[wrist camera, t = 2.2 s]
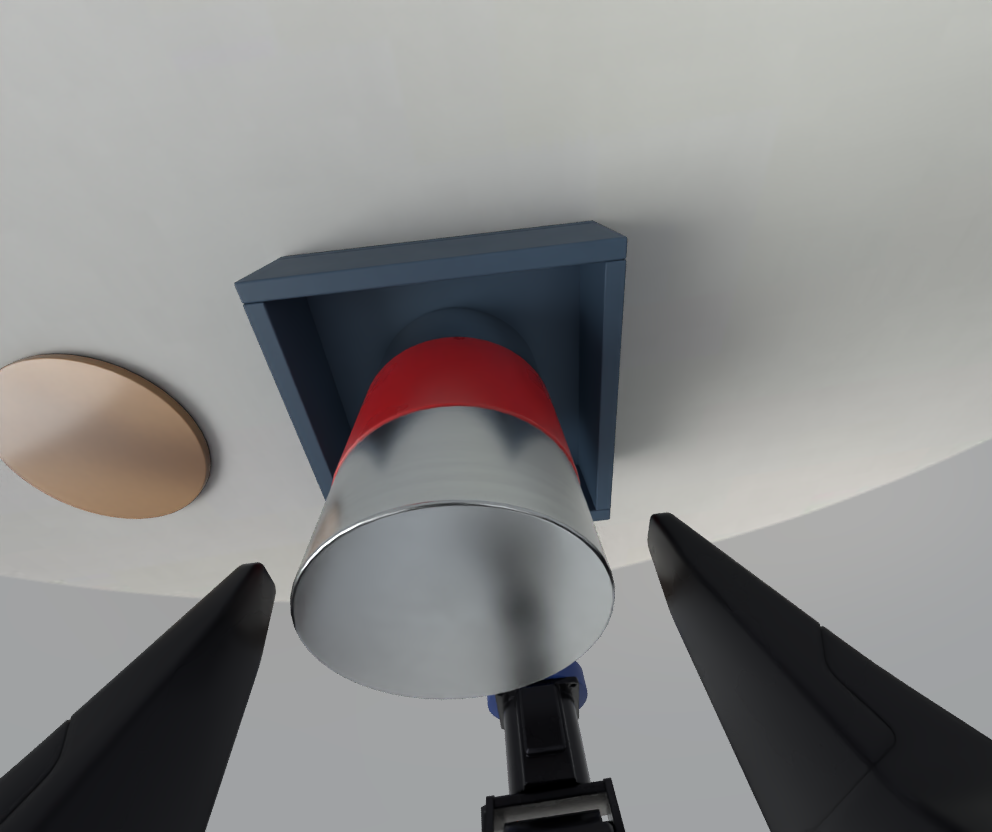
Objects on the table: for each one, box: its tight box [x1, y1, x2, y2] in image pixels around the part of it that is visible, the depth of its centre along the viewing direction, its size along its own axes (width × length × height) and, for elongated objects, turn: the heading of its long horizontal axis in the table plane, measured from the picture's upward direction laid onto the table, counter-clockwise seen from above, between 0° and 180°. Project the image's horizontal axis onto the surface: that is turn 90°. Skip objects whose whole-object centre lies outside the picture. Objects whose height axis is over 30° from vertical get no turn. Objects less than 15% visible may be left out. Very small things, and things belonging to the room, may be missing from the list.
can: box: [290, 308, 615, 699], centre depth 12 cm, size 6×6×10 cm
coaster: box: [0, 354, 211, 519], centre depth 17 cm, size 8×8×1 cm
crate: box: [235, 221, 627, 521], centre depth 16 cm, size 11×11×4 cm
